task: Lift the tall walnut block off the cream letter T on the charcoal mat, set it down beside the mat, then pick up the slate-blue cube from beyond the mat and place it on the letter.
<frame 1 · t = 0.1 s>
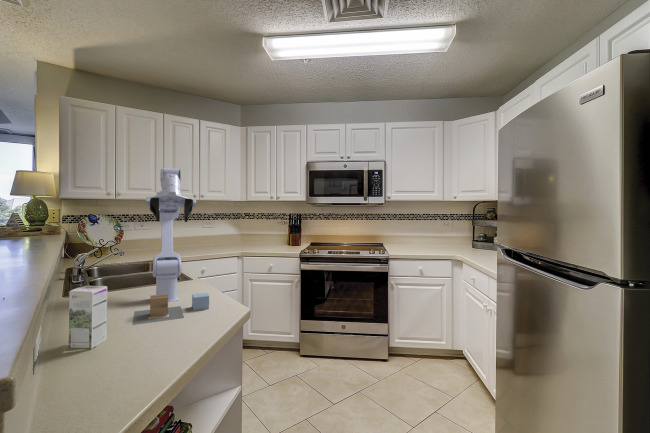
hand: (172, 219, 93), 32 cm above the worktop, tool tilted 50°, fingers open, 7 cm apart
blue cube: (200, 309, 108), on the worktop
syrup box: (88, 345, 77), on the worktop
walnut block: (158, 314, 99), resting on letter mat
letter mat: (158, 315, 99), on the worktop
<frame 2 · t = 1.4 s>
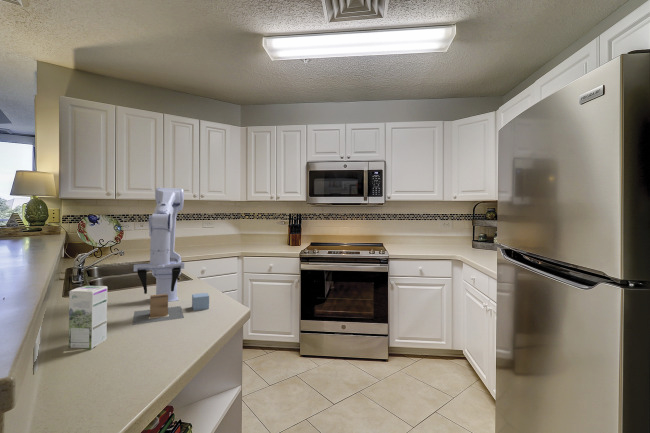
hand: (159, 291, 99), 8 cm above the worktop, tool pointing down, fingers open, 7 cm apart
nothing on the worktop moved.
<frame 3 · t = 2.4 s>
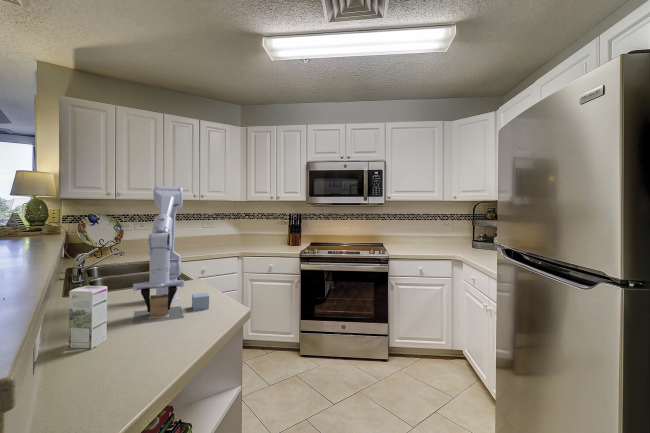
hand: (158, 310, 99), 2 cm above the worktop, tool pointing down, fingers closed on walnut block, 5 cm apart
walnut block: (158, 314, 99), resting on letter mat, touching gripper
everything else where it was.
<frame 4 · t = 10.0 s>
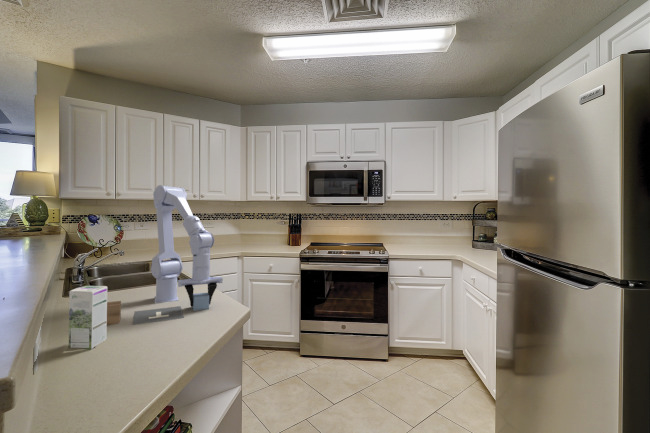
hand: (200, 304, 108), 1 cm above the worktop, tool pointing down, fingers closed on blue cube, 5 cm apart
blue cube: (200, 308, 108), on the worktop, touching gripper
walnut block: (110, 323, 92), on the worktop
everything else where it was.
when the fingers open (3 cm above the worktop, at t = 13.5 s): blue cube drops 1 cm, resting on letter mat.
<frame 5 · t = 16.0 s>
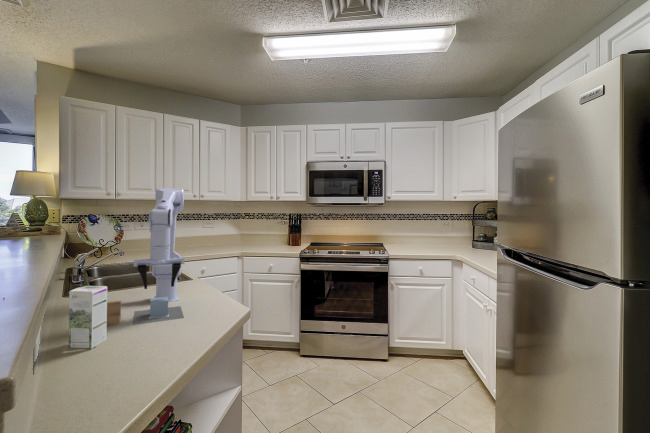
hand: (159, 287, 99), 9 cm above the worktop, tool pointing down, fingers open, 7 cm apart
blue cube: (158, 314, 99), resting on letter mat
everything else where it was.
at the end: blue cube 0.2 cm off-centre on the letter mat, point 0.4 cm above the letter mat's base; walnut block inside the target area (1.0 cm from its centre), on the worktop; blue cube tilted 0° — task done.
